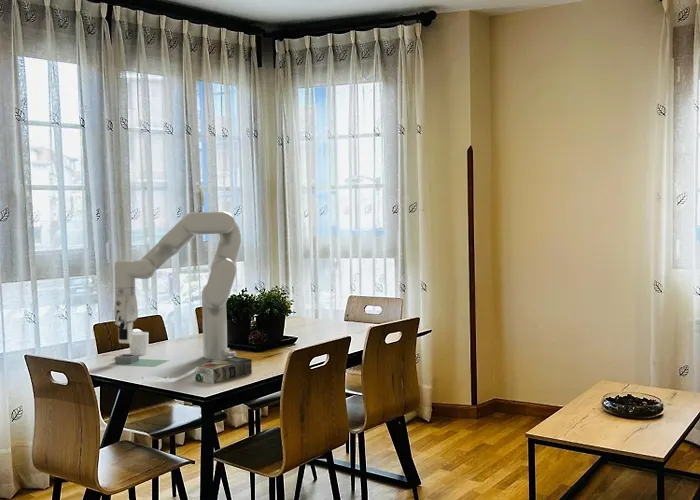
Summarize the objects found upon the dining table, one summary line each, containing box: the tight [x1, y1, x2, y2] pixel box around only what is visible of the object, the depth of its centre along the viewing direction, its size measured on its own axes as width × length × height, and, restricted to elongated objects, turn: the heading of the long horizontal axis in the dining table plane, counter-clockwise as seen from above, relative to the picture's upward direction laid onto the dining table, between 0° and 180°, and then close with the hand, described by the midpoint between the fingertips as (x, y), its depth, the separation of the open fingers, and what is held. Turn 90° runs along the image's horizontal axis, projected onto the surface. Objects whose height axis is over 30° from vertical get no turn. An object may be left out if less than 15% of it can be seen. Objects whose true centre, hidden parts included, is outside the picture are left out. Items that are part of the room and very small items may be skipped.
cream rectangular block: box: [118, 322, 133, 344], centre depth 273 cm, size 4×3×8 cm
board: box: [107, 353, 170, 368], centre depth 273 cm, size 20×12×4 cm, turn 77°
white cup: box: [128, 331, 149, 356], centre depth 290 cm, size 8×8×10 cm
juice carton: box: [194, 356, 253, 385], centre depth 253 cm, size 20×10×6 cm, turn 143°
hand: (125, 338), depth 274 cm, fingers closed on cream rectangular block, 3 cm apart
